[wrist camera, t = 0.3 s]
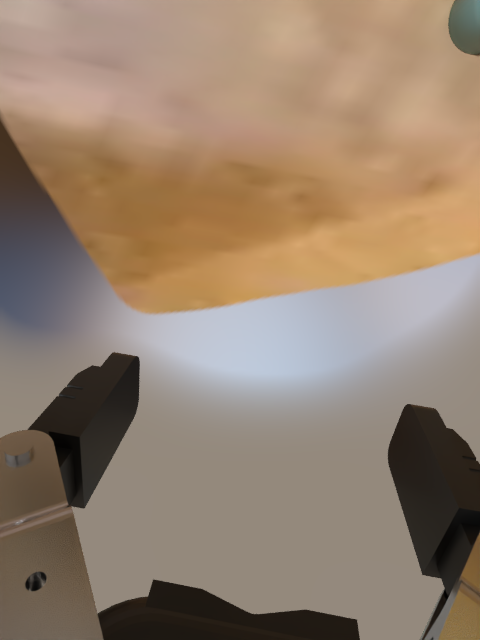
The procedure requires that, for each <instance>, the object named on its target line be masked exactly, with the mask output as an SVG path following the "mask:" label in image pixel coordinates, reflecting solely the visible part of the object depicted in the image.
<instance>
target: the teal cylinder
mask: <svg viewBox="0 0 480 640" xmlns="http://www.w3.org/2000/svg"><path fill="white" fill-rule="evenodd" d="M448 26H449V34H450V37H451V39H452V41H453V43H454V44H455V46H456V47H457V48H458V49H460V50H461V51H463V52H465V53H467V54H474V55H477V54H480V0H455V1H454V3H453V5H452V8H451V11H450V15H449V23H448Z"/></svg>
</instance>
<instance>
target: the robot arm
mask: <svg viewBox="0 0 480 640" xmlns="http://www.w3.org/2000/svg"><path fill="white" fill-rule="evenodd" d="M139 367H140V361H139V357H137V356H132V355H126V354H121V353H115V352H114V353H112V354H111V355H110V356H109V357H108V359H107V360H106V361H105V362H104V363H103V365H102V366H101V367H98V366H91V367H89V368H87V369H85V370H83V371H81V372H80V373H78V374H77V375H76V376H75V377H74V378H73V379H72V380H71V381H70V382H69V384H68V385H67V387H65V388H64V389H63V390H62V391H61V393H60V394H59V397H58V396H57V397H56V398H55V399H54V400H53V402H52V403H51V404H50V405H49V406H48V407H47V408H46V409H45V411H44V412H43V413H42V414H41V415H40V417H38V419H37V420H36V421H35V422H34V423H33V424H32V425H31V426H30V427H29V429H28V430H22V431H17V432H13V433H10V434H8V435H5V436H3V437H1V438H0V640H360V638H359V631H358V624H357V620H356V619H350V618H345V617H340V616H335V615H330V614H325V613H320V612H315V611H310V610H298V611H289V612H278V613H267V614H251V613H248V612H246V611H244V610H242V609H240V608H238V607H236V606H234V605H232V604H230V603H229V602H226V601H224V600H222V599H220V598H219V597H216V596H215V595H213V594H210V593H209V592H207V591H205V590H203V589H198V588H193V587H189V586H184V585H178V584H174V583H169V582H163V581H158V580H153V582H152V586H151V589H150V592H149V596H148V597H140V598H135V599H131V600H127V601H124V602H121V603H118V604H115V605H113V606H111V607H109V608H107V609H105V610H103V611H101V612H99V613H98V614H97V610H96V606H95V602H94V598H93V593H92V589H91V585H90V581H89V577H88V573H87V568H86V565H85V561H84V556H83V552H82V548H81V544H80V540H79V535H78V531H77V527H76V523H75V519H74V514H73V511H72V507H71V506H73V507H79V508H85V506H86V505H87V503H88V501H89V499H90V497H91V495H92V494H93V492H94V490H95V488H96V486H97V484H98V483H99V481H100V479H101V477H102V475H103V474H104V472H105V470H106V468H107V466H108V464H109V463H110V461H111V459H112V457H113V455H114V453H115V452H116V450H117V448H118V446H119V444H120V442H121V441H122V438H123V437H124V435H125V433H126V431H127V430H128V428H129V426H130V424H131V422H132V420H133V419H134V416H135V414H136V410H137V407H138V400H139V369H140V368H139ZM388 463H389V467H390V471H391V474H392V477H393V480H394V483H395V486H396V490H397V493H398V496H399V500H400V503H401V506H402V510H403V513H404V516H405V519H406V522H407V526H408V529H409V532H410V536H411V539H412V542H413V545H414V549H415V552H416V555H417V558H418V562H419V565H420V568H421V571H422V575H426V576H431V577H437V578H441V579H442V582H443V585H444V587H445V589H444V590H443V591H442V593H441V595H440V597H439V599H438V601H437V603H436V606H435V608H434V610H433V612H432V614H431V616H430V619H429V621H428V623H427V625H426V627H425V629H424V631H423V634H422V636H421V638H420V640H480V464H479V462H478V461H476V457H475V455H474V454H473V452H472V450H471V449H470V447H469V445H468V443H467V442H466V441H464V440H463V439H462V438H461V437H460V436H459V435H458V434H457V433H456V432H455V431H454V430H453V429H449V428H446V426H445V424H444V422H443V420H442V419H441V417H440V415H439V413H438V411H437V410H436V409H434V408H428V407H423V406H417V405H411V404H407V405H406V406H405V407H404V409H403V411H402V413H401V416H400V418H399V422H398V424H397V426H396V429H395V431H394V434H393V436H392V439H391V441H390V444H389V449H388Z"/></svg>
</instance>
